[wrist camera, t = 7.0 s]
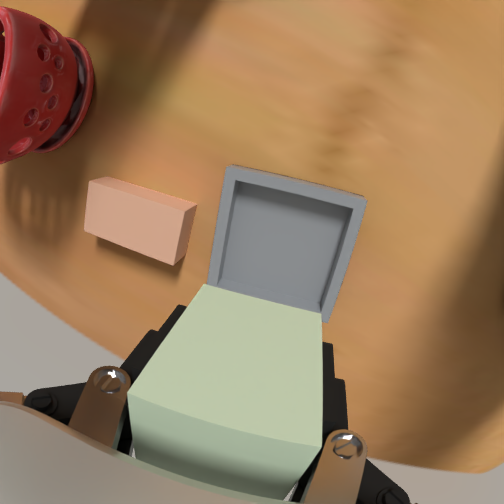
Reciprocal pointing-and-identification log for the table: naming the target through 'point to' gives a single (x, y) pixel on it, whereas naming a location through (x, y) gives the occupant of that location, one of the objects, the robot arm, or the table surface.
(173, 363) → the sage block
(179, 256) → the terracotta brick
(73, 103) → the plant pot
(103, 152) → the table surface
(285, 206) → the grey tray
